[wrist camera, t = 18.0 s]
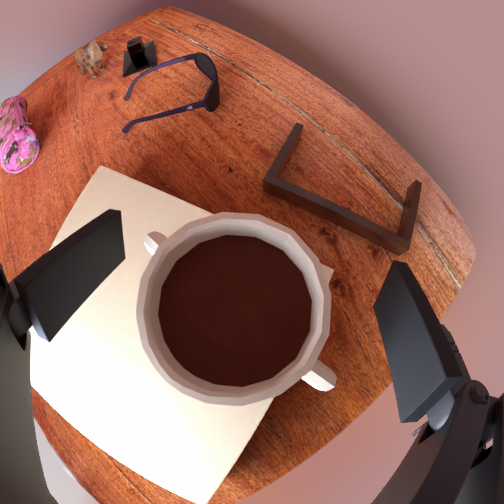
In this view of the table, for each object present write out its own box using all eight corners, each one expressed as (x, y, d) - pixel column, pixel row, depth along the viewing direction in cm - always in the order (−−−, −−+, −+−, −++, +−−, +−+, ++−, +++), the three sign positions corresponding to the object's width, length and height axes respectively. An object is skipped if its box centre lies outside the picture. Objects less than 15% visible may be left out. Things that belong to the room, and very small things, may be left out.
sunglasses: (228, 116, 35) (225, 91, 30) (123, 147, 34) (109, 126, 29) (211, 68, 39) (208, 46, 34) (125, 93, 38) (116, 74, 33)
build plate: (125, 52, 43) (119, 37, 38) (155, 41, 43) (151, 25, 39) (123, 77, 39) (115, 60, 35) (158, 64, 40) (153, 46, 35)
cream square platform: (319, 281, 28) (334, 269, 23) (213, 479, 22) (204, 506, 16) (120, 188, 32) (100, 164, 26) (39, 357, 26) (9, 358, 20)
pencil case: (51, 147, 35) (25, 119, 27) (18, 184, 33) (-11, 160, 25) (34, 108, 40) (16, 85, 31) (7, 136, 38) (-12, 116, 29)
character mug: (167, 309, 22) (74, 282, 9) (222, 246, 23) (186, 154, 11) (269, 393, 20) (287, 470, 7) (324, 326, 21) (406, 318, 9)
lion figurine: (120, 65, 41) (107, 34, 32) (102, 81, 40) (86, 49, 31) (86, 62, 43) (73, 37, 34) (70, 76, 42) (55, 51, 33)
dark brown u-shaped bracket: (413, 191, 31) (422, 182, 29) (398, 256, 29) (408, 250, 27) (294, 134, 34) (296, 122, 31) (262, 191, 31) (263, 180, 29)
